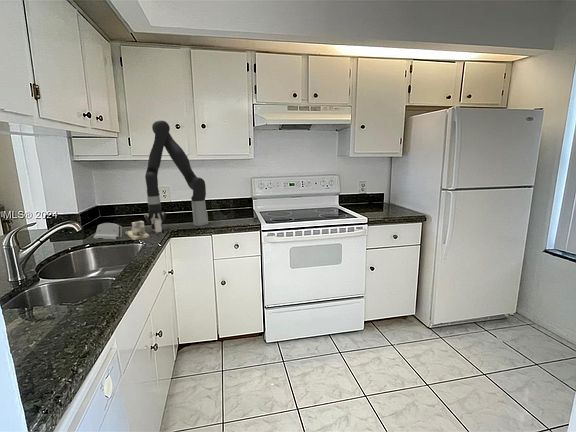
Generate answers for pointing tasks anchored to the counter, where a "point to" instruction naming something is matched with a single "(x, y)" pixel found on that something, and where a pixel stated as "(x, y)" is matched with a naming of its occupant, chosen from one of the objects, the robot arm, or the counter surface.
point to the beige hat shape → (137, 231)
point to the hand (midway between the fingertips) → (156, 228)
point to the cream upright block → (157, 225)
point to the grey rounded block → (108, 231)
